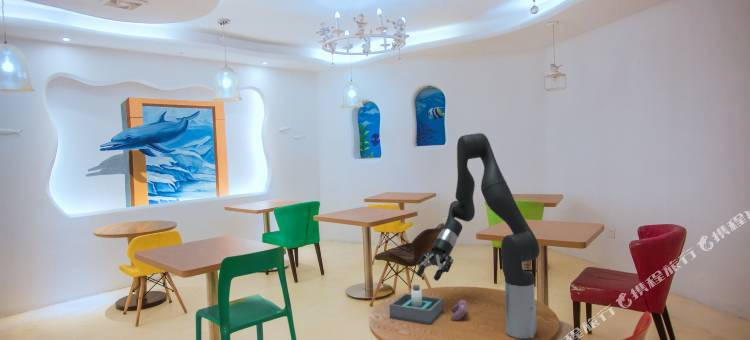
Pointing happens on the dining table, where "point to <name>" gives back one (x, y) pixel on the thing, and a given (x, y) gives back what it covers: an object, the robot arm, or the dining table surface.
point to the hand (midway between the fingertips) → (426, 277)
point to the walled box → (416, 309)
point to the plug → (416, 296)
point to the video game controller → (459, 310)
